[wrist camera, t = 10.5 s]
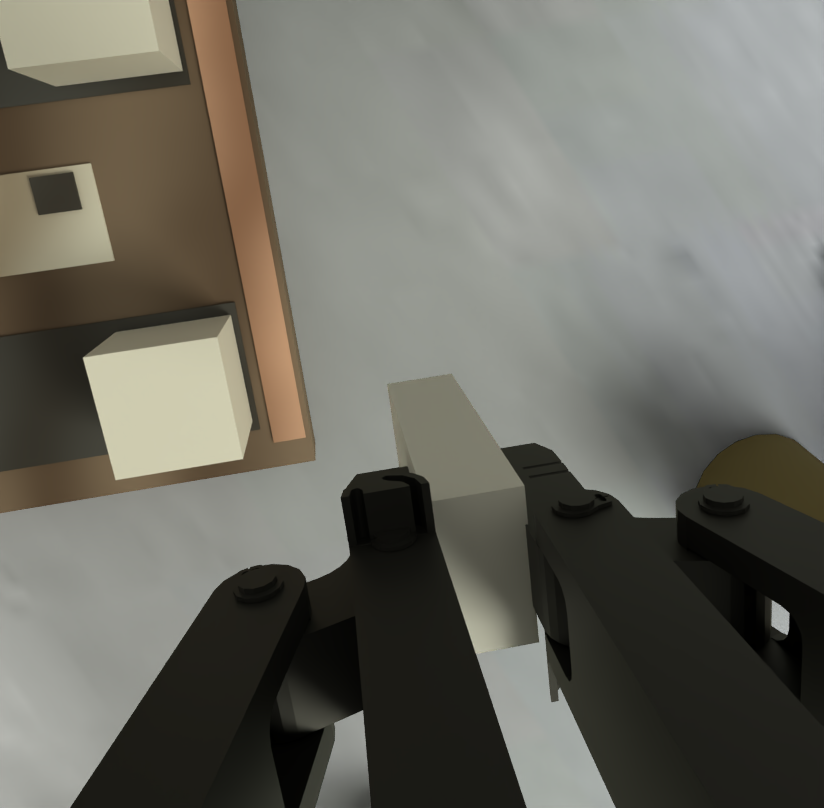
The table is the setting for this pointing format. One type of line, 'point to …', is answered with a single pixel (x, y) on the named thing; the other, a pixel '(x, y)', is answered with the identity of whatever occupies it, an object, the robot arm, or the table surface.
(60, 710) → the table surface
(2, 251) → the brown wooden tray
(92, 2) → the cream cube
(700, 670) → the robot arm
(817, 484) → the cork
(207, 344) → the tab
